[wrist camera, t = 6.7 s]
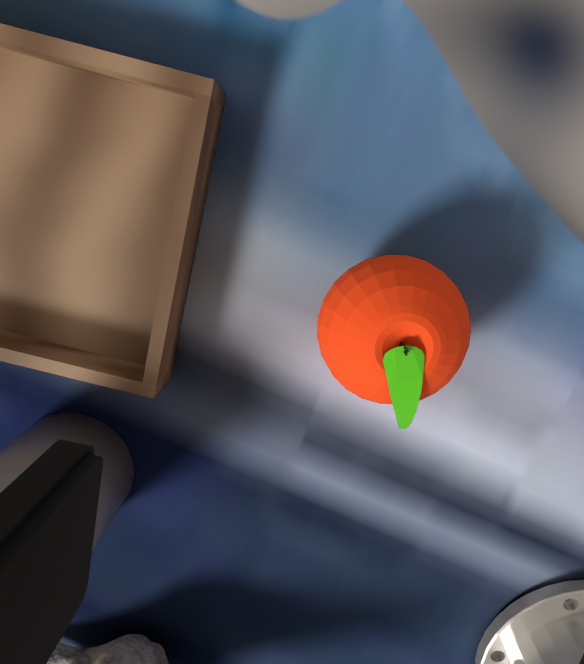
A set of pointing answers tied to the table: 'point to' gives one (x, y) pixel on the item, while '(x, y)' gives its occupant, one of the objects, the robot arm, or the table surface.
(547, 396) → the table surface
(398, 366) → the clementine
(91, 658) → the seashell
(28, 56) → the walnut tray
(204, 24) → the table surface
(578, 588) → the robot arm
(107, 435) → the grey rounded cylinder
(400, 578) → the table surface
